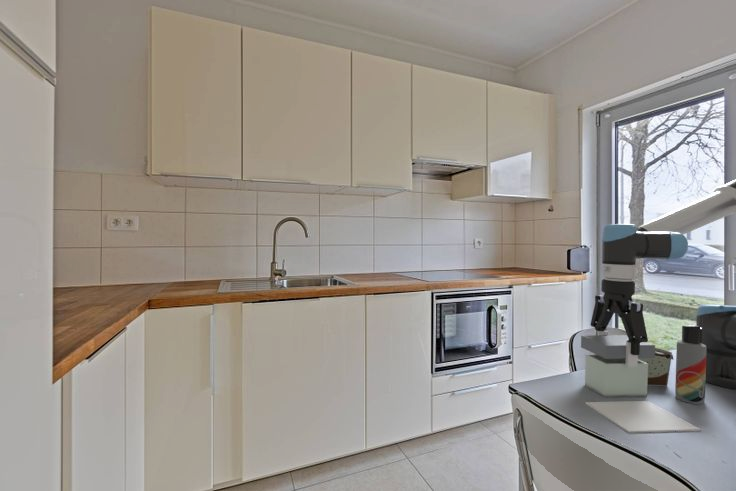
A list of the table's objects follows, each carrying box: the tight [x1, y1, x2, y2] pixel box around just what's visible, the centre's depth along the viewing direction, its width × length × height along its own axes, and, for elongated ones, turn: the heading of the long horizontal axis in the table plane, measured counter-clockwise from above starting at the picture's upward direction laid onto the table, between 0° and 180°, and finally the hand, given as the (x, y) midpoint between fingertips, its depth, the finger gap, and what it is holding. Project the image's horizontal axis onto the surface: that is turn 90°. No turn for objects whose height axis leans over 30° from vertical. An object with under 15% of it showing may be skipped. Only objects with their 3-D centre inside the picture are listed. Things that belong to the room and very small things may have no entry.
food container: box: [638, 347, 675, 387], centre depth 101 cm, size 12×6×10 cm, turn 84°
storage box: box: [584, 353, 648, 398], centre depth 94 cm, size 12×8×9 cm, turn 94°
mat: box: [585, 400, 701, 434], centre depth 80 cm, size 17×13×1 cm
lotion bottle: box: [674, 324, 706, 405], centre depth 89 cm, size 6×6×20 cm
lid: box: [580, 334, 656, 359], centre depth 94 cm, size 14×9×4 cm
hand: (616, 359), depth 94 cm, fingers closed on lid, 9 cm apart
